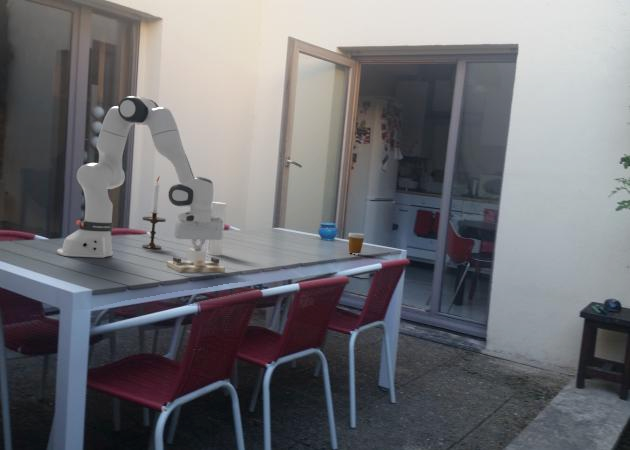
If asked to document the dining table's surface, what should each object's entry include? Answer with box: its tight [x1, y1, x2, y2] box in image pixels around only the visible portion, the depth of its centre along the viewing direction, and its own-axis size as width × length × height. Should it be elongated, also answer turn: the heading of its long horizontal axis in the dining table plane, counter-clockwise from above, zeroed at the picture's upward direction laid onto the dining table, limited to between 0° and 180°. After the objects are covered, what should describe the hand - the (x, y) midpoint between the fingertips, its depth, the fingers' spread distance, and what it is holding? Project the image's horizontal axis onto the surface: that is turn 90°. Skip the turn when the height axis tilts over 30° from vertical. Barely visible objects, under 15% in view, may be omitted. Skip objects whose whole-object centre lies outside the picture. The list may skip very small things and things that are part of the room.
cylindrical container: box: [206, 201, 227, 256], centre depth 317 cm, size 7×7×25 cm
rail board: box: [166, 256, 226, 273], centre depth 272 cm, size 20×14×5 cm
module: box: [187, 247, 207, 266], centre depth 272 cm, size 4×8×6 cm, turn 33°
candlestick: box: [141, 175, 167, 250], centre depth 314 cm, size 11×11×35 cm
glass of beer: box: [348, 232, 366, 254], centre depth 373 cm, size 10×10×12 cm
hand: (197, 249), depth 271 cm, fingers closed, pressing on module
